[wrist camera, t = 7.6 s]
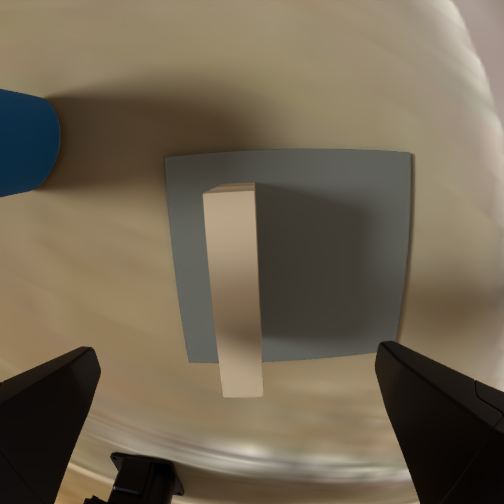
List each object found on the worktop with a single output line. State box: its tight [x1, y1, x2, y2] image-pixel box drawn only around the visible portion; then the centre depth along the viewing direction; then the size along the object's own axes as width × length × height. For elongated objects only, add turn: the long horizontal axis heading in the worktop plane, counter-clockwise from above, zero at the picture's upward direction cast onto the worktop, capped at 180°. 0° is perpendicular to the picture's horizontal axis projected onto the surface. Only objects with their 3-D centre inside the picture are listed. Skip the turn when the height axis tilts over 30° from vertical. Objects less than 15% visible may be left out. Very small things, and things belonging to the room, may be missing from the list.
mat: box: [164, 149, 411, 363], centre depth 18 cm, size 13×14×1 cm
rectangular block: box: [203, 182, 263, 397], centre depth 15 cm, size 9×2×6 cm, turn 3°
